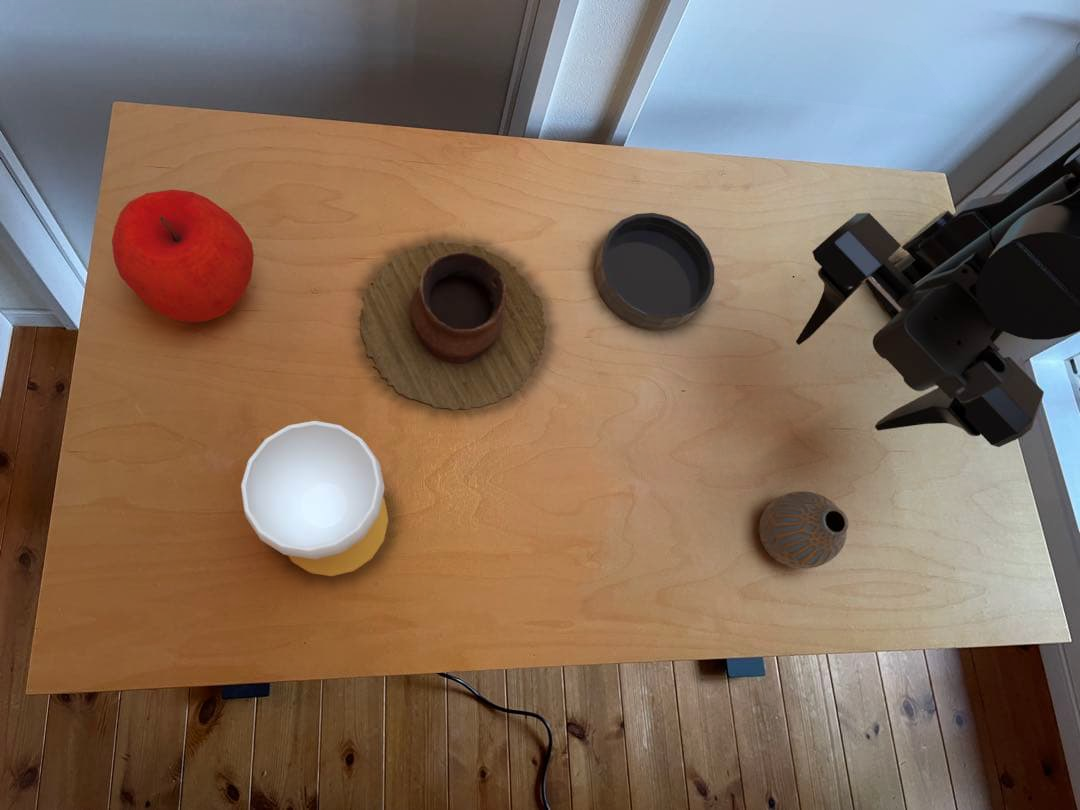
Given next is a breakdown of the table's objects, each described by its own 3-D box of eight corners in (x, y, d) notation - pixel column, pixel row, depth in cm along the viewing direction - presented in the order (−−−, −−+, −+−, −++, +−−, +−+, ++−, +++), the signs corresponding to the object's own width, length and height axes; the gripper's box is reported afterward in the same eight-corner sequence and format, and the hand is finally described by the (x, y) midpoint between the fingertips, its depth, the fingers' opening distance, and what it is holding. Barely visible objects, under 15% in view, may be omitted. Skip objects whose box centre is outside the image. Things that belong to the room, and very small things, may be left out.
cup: (280, 470, 58) (240, 415, 43) (388, 468, 60) (386, 415, 45) (274, 579, 55) (228, 560, 40) (387, 573, 57) (384, 554, 42)
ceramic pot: (548, 255, 70) (563, 216, 63) (543, 418, 64) (560, 394, 57) (370, 231, 67) (367, 188, 60) (348, 401, 61) (342, 373, 54)
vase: (819, 514, 67) (878, 497, 58) (807, 581, 64) (866, 574, 56) (756, 489, 66) (806, 469, 58) (741, 556, 64) (791, 545, 55)
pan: (663, 214, 74) (674, 197, 71) (722, 303, 72) (736, 290, 69) (573, 252, 70) (580, 236, 68) (632, 348, 68) (642, 336, 65)
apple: (270, 251, 64) (243, 169, 53) (260, 347, 61) (229, 282, 49) (156, 242, 62) (102, 156, 51) (139, 341, 59) (78, 272, 47)
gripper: (879, 188, 39) (713, 337, 51) (1119, 432, 37) (887, 527, 49) (932, 146, 46) (775, 286, 58) (1137, 350, 44) (929, 451, 56)
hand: (837, 383), depth 55 cm, fingers open, 9 cm apart
